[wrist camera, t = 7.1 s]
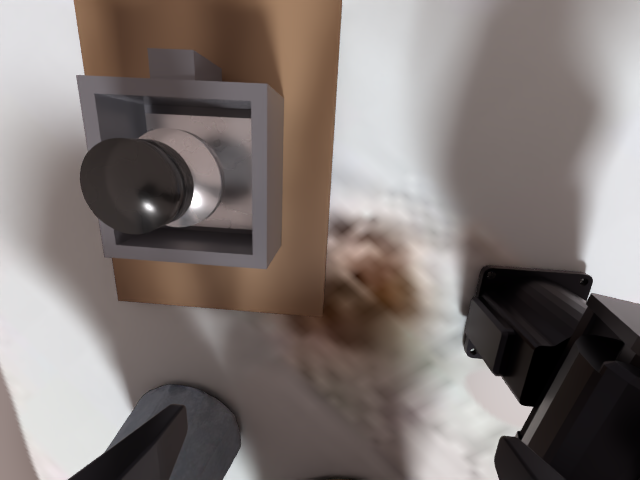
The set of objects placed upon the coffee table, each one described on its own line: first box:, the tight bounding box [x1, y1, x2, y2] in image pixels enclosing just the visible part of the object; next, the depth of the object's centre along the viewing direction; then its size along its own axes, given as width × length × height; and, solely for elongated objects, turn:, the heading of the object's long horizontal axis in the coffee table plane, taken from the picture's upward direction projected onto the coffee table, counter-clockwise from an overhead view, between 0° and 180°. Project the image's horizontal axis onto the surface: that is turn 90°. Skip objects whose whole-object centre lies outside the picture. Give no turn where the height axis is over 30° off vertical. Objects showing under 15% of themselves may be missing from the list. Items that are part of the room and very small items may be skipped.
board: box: [74, 0, 342, 317], centre depth 19 cm, size 14×18×1 cm
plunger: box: [80, 113, 252, 234], centre depth 14 cm, size 6×6×7 cm
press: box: [76, 48, 284, 269], centre depth 16 cm, size 8×10×4 cm
